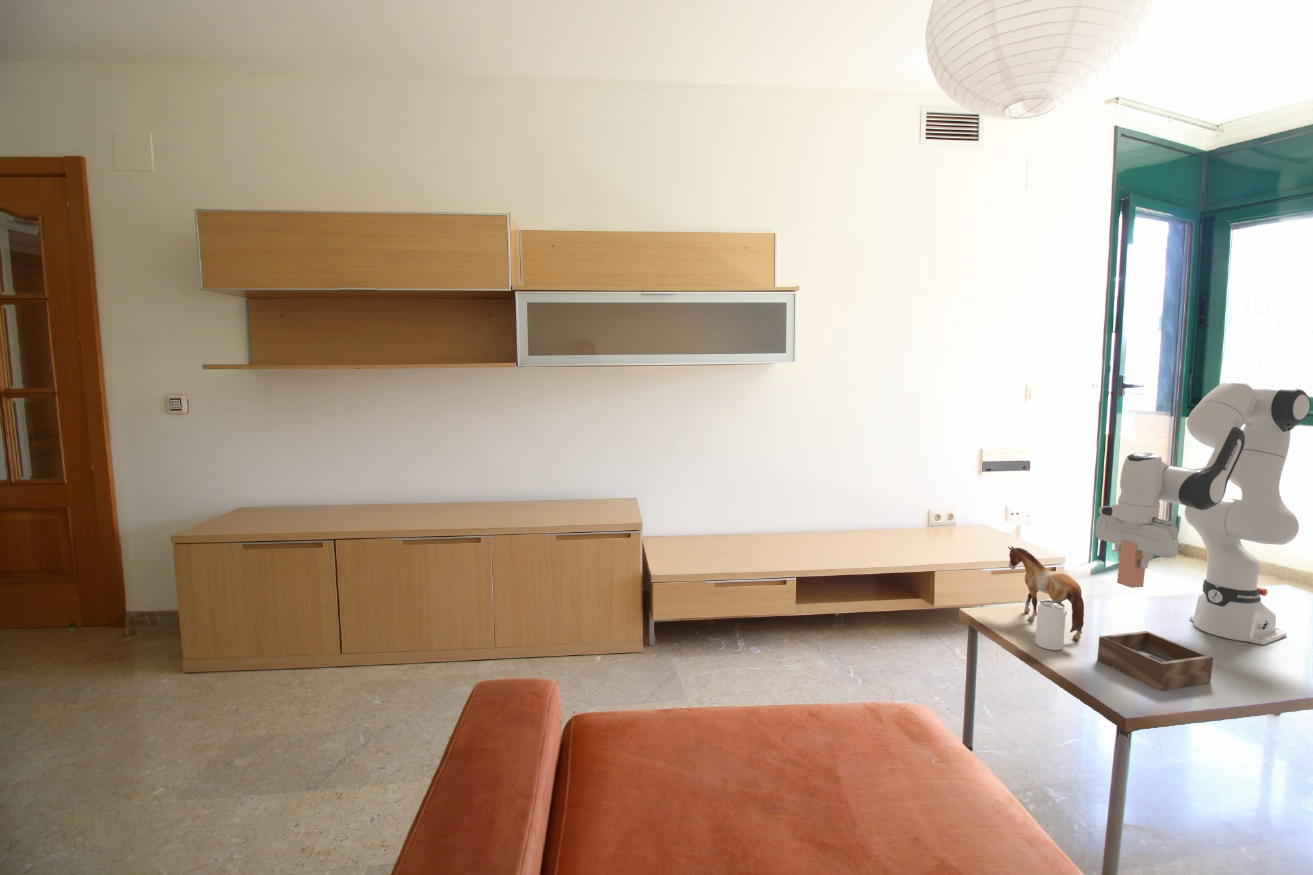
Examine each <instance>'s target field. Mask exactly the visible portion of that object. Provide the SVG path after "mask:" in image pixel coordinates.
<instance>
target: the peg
mask: <svg viewBox="0 0 1313 875" xmlns="http://www.w3.org/2000/svg"><path fill="white" fill-rule="evenodd" d="M1136 546H1137V544H1136V543H1133V542H1129V541H1125V540H1121V550H1120V559H1119V561H1118V569H1117V570H1118V571H1117V581H1116V584H1119V585H1122V586H1126V587H1128V588H1131V589H1133V588H1134V589H1135V588H1144V584H1145V583H1144V581H1145V572H1146V568H1144V569H1143V568H1140V567H1138V566H1137V564H1138V560H1142V559H1143V558H1144V556H1143V555H1142V554H1143V551H1139V550H1137V549H1136Z"/></svg>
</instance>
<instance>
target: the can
mask: <svg viewBox="0 0 1313 875" xmlns="http://www.w3.org/2000/svg"><path fill="white" fill-rule="evenodd" d="M1039 602H1040V603H1039V605H1037V606H1038V607H1037V616H1036V617H1037V618H1036V626H1035V627H1036V628H1035V639H1034V640H1035V641H1034V642H1035V644H1036V645H1037V647H1039V648H1042V649H1043V650H1047V651H1053V652H1057V651H1058V652H1059V651H1062V650H1063V649H1064V641H1065V627H1066V618H1067V617H1066V615H1067V614H1066V612H1067V611H1066V609H1065V604H1063V603H1062V602H1061V603H1059V602H1056V601H1052V600H1051V599H1049V600H1047V599H1045V600H1041V601H1039Z"/></svg>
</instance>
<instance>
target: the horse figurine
mask: <svg viewBox="0 0 1313 875" xmlns="http://www.w3.org/2000/svg"><path fill="white" fill-rule="evenodd" d="M1007 548H1008V549H1009V554H1008V556H1009V563H1008V567H1009V568H1010V569H1012V570H1014V569H1016V567H1017V565H1019V564H1020V563H1022V564H1023V566H1024V569H1025V574H1024V583H1025V584H1026V586H1027V588H1028V591H1029V593H1028V594H1027V599H1026V601H1025V603H1024V604H1025V607H1024V613H1030V611H1031V608H1030V607H1029V606H1030V604H1032V607H1033V608H1032V609H1033V611H1032V614H1031V615H1030V616H1028V618H1027V620H1028V621H1029V622H1034V620H1035V618H1036V617H1037V614H1038V607H1037V606H1038V596H1037V593H1039V592H1042V593H1044V594H1046V595H1048V596H1049V598H1050V600H1051V601H1056V602H1059V603H1062V602H1064V601H1066V600H1068V602H1069V603H1070V604H1071V612H1072V613H1071V629H1070V630H1069V633H1073V632H1074V631H1075V632H1076V633H1074V635H1073V636H1072V639H1074V640H1081V638H1082V636H1081V635H1082V634H1083V631H1082V629H1083V626H1084V619H1085V618H1084V617H1085V612H1084V611H1085V605H1084V600H1083V597H1082V594H1083V593H1082V588H1081V585H1080V584H1079V583H1078V582H1077V581H1076V580H1075V579H1074V578H1073V577H1072V576H1070V575H1069V574H1066V573H1062V572H1061V573H1060V572H1054V571H1051V570H1049V569H1048V568H1047V567H1045V566H1044V565H1043V564H1042V563H1041V562H1040V561H1039V560H1038V558H1036V557H1035V556H1034V555H1033V554H1032V553H1030V552H1029V551H1028V550H1026V549H1024V548H1022V547H1021V548H1020V547H1014V546H1007ZM1066 615H1067V611H1066Z"/></svg>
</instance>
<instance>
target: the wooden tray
mask: <svg viewBox="0 0 1313 875" xmlns="http://www.w3.org/2000/svg"><path fill="white" fill-rule="evenodd" d="M1097 649H1098V650H1097V660H1096V661H1098V662H1099V663H1101V662H1102V664H1104V665H1106V666H1108V667H1109V668H1112V669H1114V670H1116V671H1118V672H1121V673H1123V674H1124V673H1125V674H1124V675H1127V676H1128V677H1131V678H1133V679H1135V680H1137V681H1139V682H1142V683H1144V684H1145V685H1148V686H1150V687H1152V688H1154V689H1156V690H1157V691H1167V690H1171V689H1172V690H1174V689H1181V688H1186V687H1193V686H1199V685H1205V684H1211V678H1212V670H1213V664H1214V663H1213V661H1214V657H1213V656H1211V655H1208V654H1206V653H1203V652H1202V651H1199V650H1195V649H1194V648H1191V647H1188V646H1185V645H1183V644H1181V643H1179V642H1176V641H1173V640H1171V639H1169V638H1166V637H1163V636H1161V635H1158V634H1155V633H1153V632H1151V631H1148V630H1142V631H1134V632H1125V633H1117V634H1116V633H1115V634H1108V635H1101V636H1099V637H1098V648H1097Z"/></svg>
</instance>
